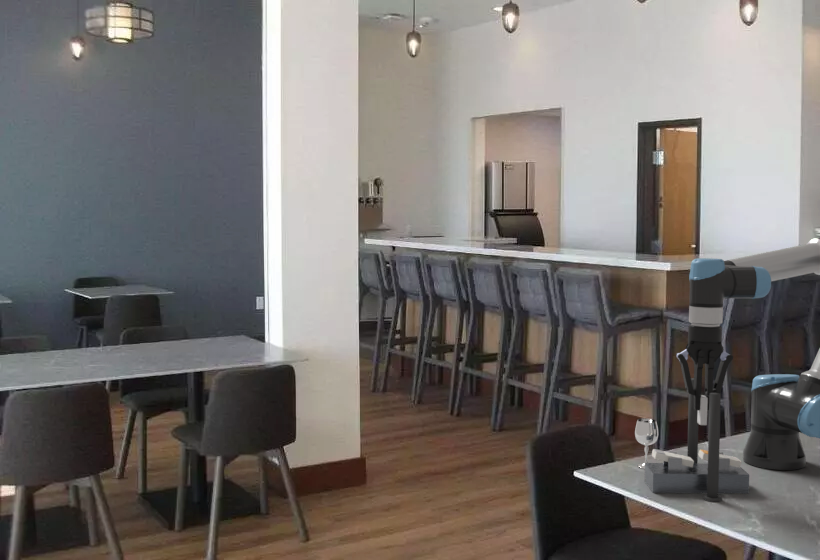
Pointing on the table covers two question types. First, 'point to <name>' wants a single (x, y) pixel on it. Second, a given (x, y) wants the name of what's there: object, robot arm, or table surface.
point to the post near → (713, 448)
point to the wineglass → (646, 435)
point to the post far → (692, 429)
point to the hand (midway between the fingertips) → (701, 423)
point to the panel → (694, 477)
